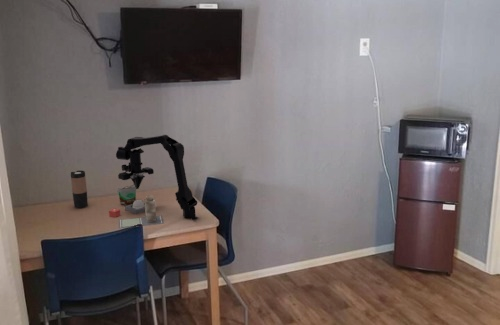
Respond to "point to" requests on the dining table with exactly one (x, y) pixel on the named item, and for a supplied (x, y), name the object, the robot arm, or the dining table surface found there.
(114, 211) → the red die
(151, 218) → the capped square post
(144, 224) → the board
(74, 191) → the travel mug
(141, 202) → the dome button
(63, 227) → the dining table surface
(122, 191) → the food container
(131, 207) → the dome housing
